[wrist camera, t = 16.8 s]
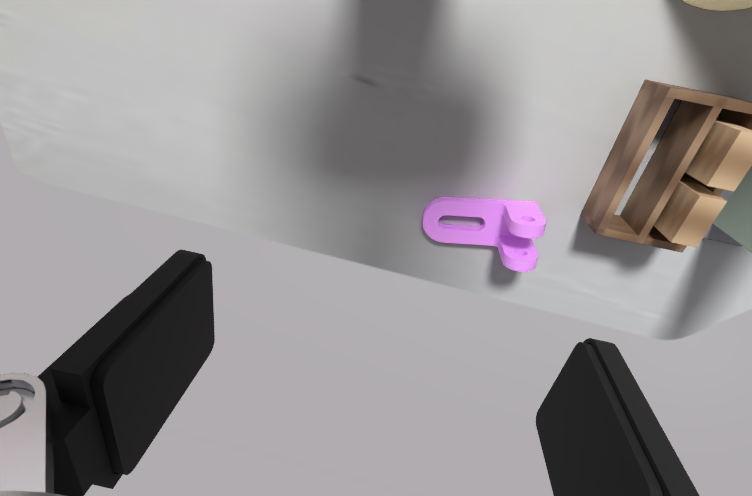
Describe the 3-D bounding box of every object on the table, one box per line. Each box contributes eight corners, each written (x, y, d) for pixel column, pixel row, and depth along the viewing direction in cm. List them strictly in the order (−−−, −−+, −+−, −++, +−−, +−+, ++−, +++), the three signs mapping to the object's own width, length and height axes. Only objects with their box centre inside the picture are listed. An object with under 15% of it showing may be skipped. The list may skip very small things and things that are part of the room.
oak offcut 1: (689, 111, 41) (741, 130, 34) (714, 116, 41) (770, 137, 34) (663, 158, 44) (706, 185, 37) (686, 163, 44) (734, 191, 37)
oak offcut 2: (658, 167, 44) (700, 195, 37) (681, 172, 44) (727, 201, 37) (636, 208, 47) (671, 242, 40) (657, 213, 47) (696, 247, 40)
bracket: (535, 201, 48) (550, 227, 42) (526, 242, 51) (539, 273, 45) (424, 195, 49) (423, 220, 43) (421, 235, 52) (419, 264, 46)
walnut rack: (645, 79, 40) (670, 87, 36) (739, 98, 40) (776, 109, 36) (580, 214, 48) (595, 234, 44) (659, 231, 48) (682, 252, 43)
